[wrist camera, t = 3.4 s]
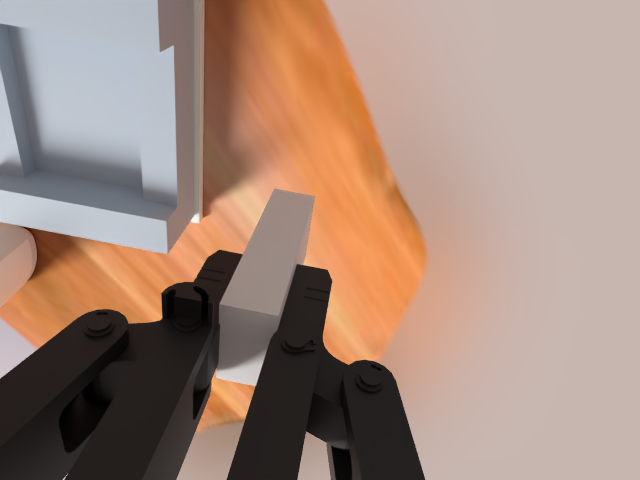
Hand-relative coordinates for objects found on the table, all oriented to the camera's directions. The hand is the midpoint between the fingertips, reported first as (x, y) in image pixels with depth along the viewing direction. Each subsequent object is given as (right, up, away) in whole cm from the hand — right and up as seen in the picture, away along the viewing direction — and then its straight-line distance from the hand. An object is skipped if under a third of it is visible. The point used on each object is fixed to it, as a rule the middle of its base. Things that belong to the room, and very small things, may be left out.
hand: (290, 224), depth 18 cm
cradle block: (-10, +7, +7) cm, 14 cm away
